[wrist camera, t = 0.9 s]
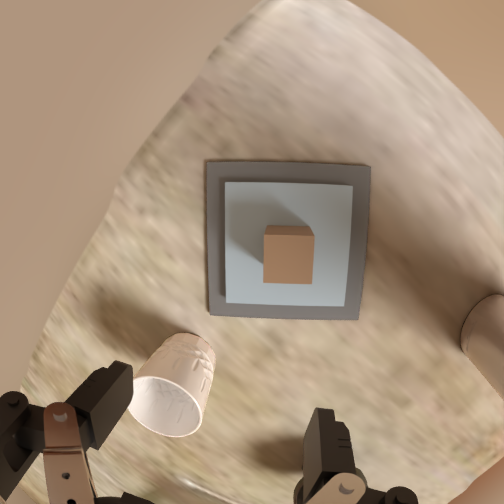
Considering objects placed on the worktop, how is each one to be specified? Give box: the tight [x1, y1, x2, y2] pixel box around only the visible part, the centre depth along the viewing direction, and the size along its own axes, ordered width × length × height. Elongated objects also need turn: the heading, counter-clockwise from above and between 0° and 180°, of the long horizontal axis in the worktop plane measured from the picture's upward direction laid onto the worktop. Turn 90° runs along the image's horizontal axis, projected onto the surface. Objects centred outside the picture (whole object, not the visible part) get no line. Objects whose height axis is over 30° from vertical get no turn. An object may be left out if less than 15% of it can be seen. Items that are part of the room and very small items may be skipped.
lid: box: [225, 182, 353, 306], centre depth 28 cm, size 12×12×6 cm
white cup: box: [128, 333, 216, 437], centre depth 31 cm, size 8×8×10 cm
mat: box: [207, 162, 371, 320], centre depth 32 cm, size 16×16×1 cm
